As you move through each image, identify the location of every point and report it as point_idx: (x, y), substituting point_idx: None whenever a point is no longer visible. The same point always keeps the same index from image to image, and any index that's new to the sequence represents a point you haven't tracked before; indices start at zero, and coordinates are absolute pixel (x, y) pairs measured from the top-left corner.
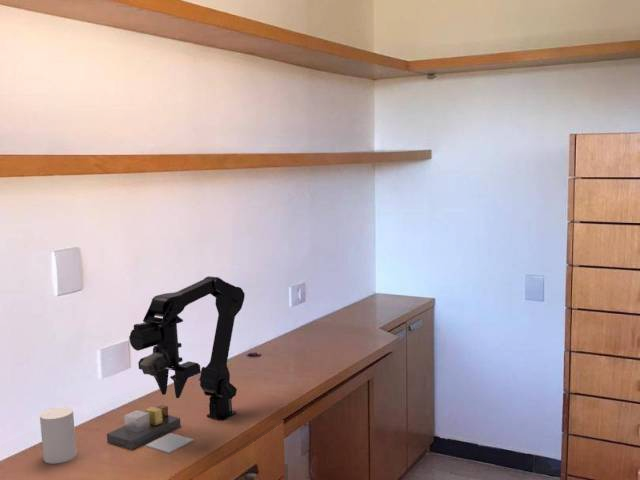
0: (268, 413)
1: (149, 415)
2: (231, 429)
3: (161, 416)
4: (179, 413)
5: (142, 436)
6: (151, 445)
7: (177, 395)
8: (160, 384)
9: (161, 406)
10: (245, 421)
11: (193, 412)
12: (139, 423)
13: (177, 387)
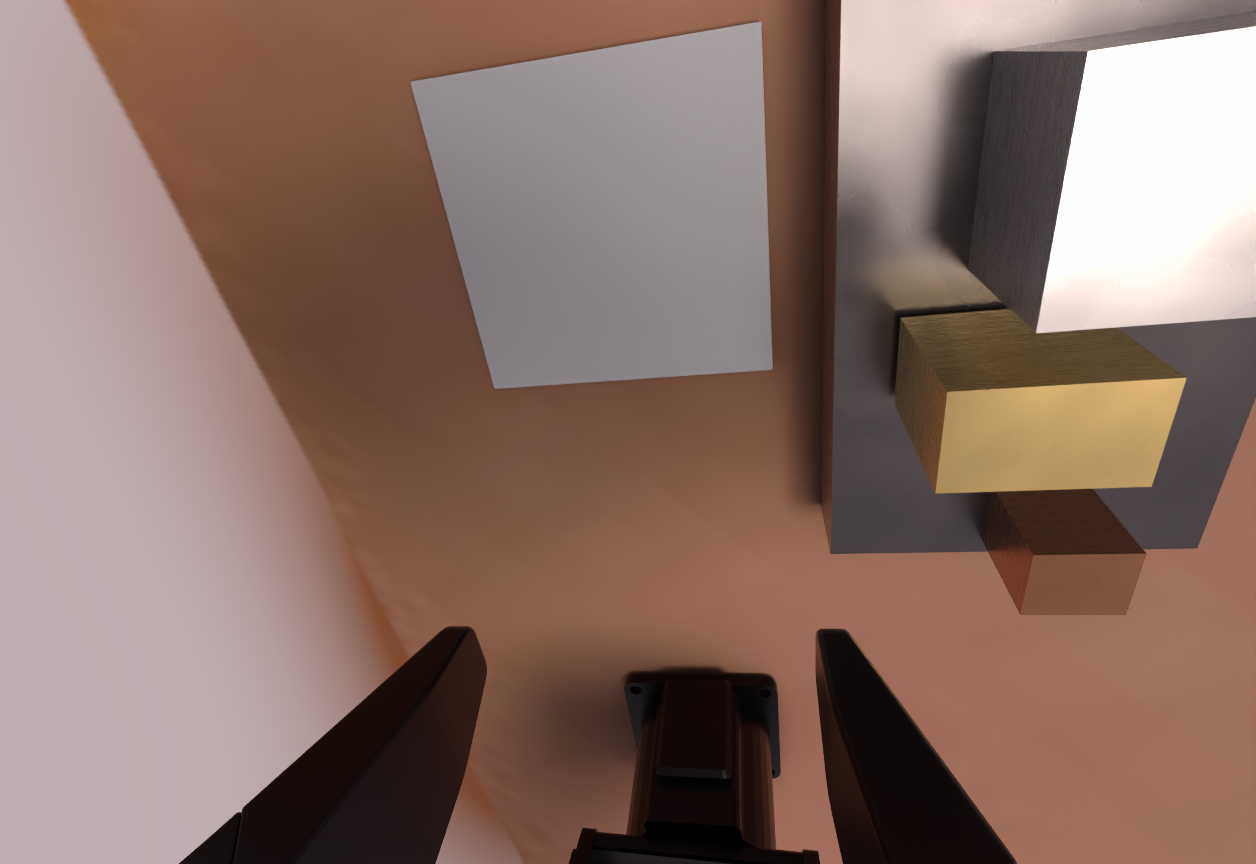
0: (506, 805)
1: (1054, 350)
2: (470, 617)
3: (910, 433)
4: (1029, 648)
5: (840, 27)
6: (692, 60)
7: (407, 667)
8: (883, 854)
9: (1091, 582)
10: (510, 712)
11: (930, 692)
12: (1030, 110)
13: (218, 830)
